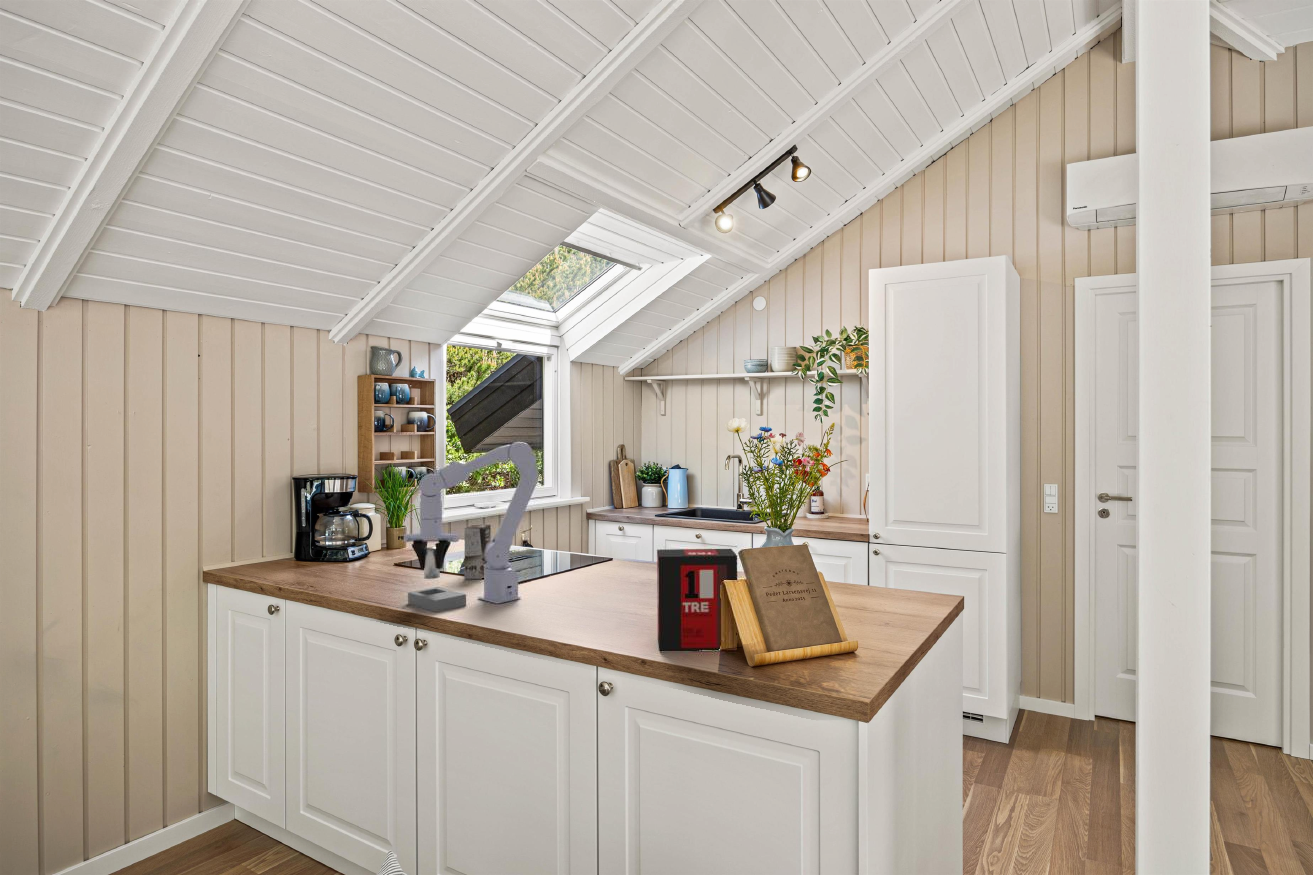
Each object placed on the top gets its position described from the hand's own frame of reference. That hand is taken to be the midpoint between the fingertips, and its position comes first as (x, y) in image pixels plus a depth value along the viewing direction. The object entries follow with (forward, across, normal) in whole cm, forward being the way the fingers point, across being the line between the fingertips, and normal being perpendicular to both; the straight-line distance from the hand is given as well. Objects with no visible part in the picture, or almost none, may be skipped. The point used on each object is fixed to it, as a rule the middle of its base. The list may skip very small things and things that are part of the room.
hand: (431, 568), depth 190 cm
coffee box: (+10, -1, -35) cm, 36 cm away
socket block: (+9, -2, +2) cm, 10 cm away
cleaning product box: (+10, -72, +34) cm, 80 cm away
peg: (+2, 0, 0) cm, 3 cm away
